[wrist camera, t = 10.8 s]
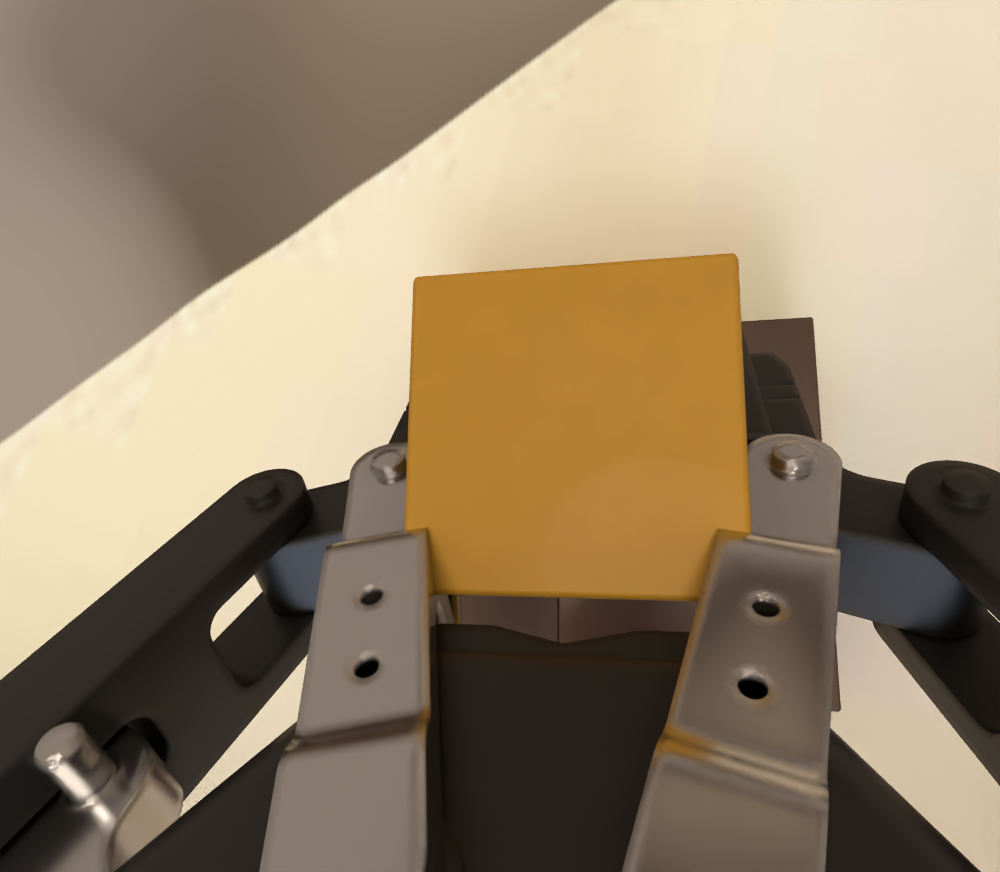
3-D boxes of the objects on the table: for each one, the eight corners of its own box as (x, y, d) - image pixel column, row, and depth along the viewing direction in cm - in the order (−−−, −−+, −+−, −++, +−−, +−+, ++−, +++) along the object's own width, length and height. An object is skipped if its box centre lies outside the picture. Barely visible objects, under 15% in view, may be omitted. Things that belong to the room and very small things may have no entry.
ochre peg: (537, 571, 18) (399, 593, 8) (537, 424, 19) (411, 274, 9) (692, 574, 17) (756, 604, 7) (686, 420, 18) (739, 249, 8)
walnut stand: (470, 672, 27) (444, 689, 24) (475, 363, 29) (452, 338, 26) (815, 690, 24) (841, 712, 21) (792, 346, 26) (813, 316, 23)
